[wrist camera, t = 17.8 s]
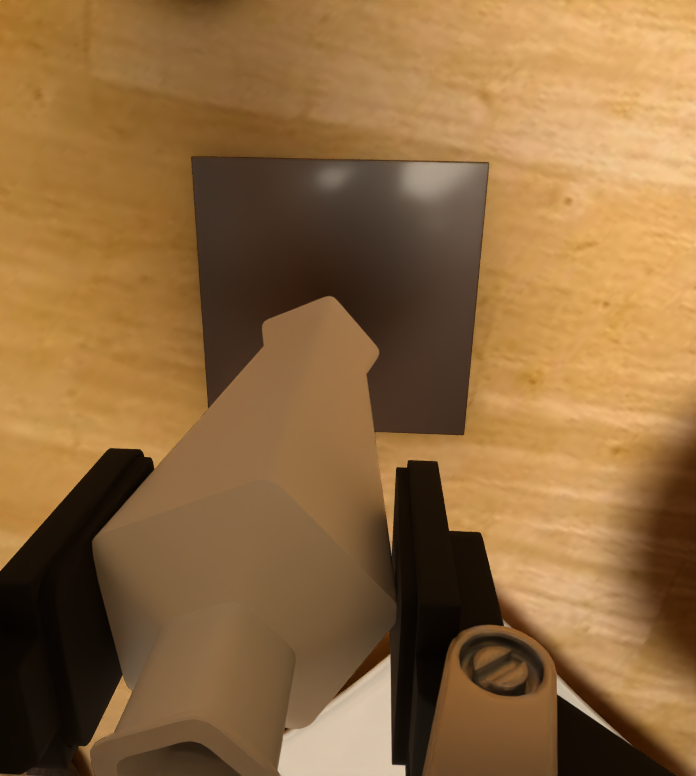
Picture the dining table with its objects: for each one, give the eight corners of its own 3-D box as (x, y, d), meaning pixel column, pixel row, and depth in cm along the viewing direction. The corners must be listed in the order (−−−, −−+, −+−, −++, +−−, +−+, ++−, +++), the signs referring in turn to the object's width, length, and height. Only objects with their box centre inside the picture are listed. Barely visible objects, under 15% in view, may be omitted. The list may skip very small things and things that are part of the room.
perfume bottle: (404, 303, 20) (453, 678, 6) (370, 425, 22) (346, 943, 8) (262, 267, 20) (-20, 570, 6) (238, 393, 22) (-30, 864, 8)
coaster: (212, 420, 31) (209, 425, 30) (194, 156, 26) (190, 156, 26) (462, 430, 30) (463, 435, 30) (487, 162, 26) (489, 162, 25)
